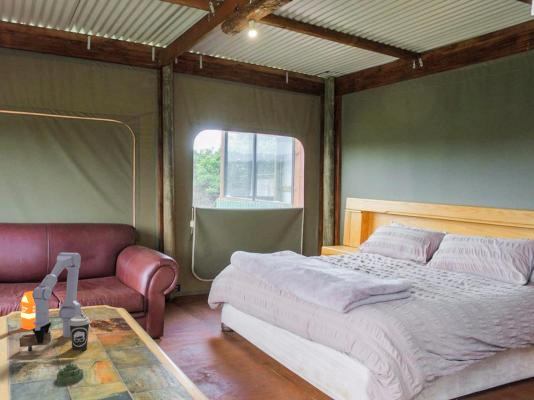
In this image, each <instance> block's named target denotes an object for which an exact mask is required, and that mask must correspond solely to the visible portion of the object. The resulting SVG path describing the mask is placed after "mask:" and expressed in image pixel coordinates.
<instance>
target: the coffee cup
mask: <svg viewBox="0 0 534 400" xmlns="http://www.w3.org/2000/svg"><path fill="white" fill-rule="evenodd" d="M90 323H91V321H90V319H89V317H88V316H84V315H81V316H80V317H74V318H72V319H71V320H70V322H69V325H70V332H71V337H70V338H71V339H70V341H71V349H72V350H74V351H79V350H80V353H81V352H85V351H86V350H88V342H89V339H88V338H89V328H90Z"/></svg>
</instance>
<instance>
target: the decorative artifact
mask: <svg viewBox="0 0 534 400" xmlns="http://www.w3.org/2000/svg"><path fill="white" fill-rule="evenodd" d="M83 379H84V370H83V369H82V368H79V366H77V364H74V363H72V362H70V361H69V363H68V364H66V366H64V367H63V368H59V370H58V372H57V373H56V382H57V383H58V384H61V385H68V384H74V383H77V382H80V381H82V380H83Z"/></svg>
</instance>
